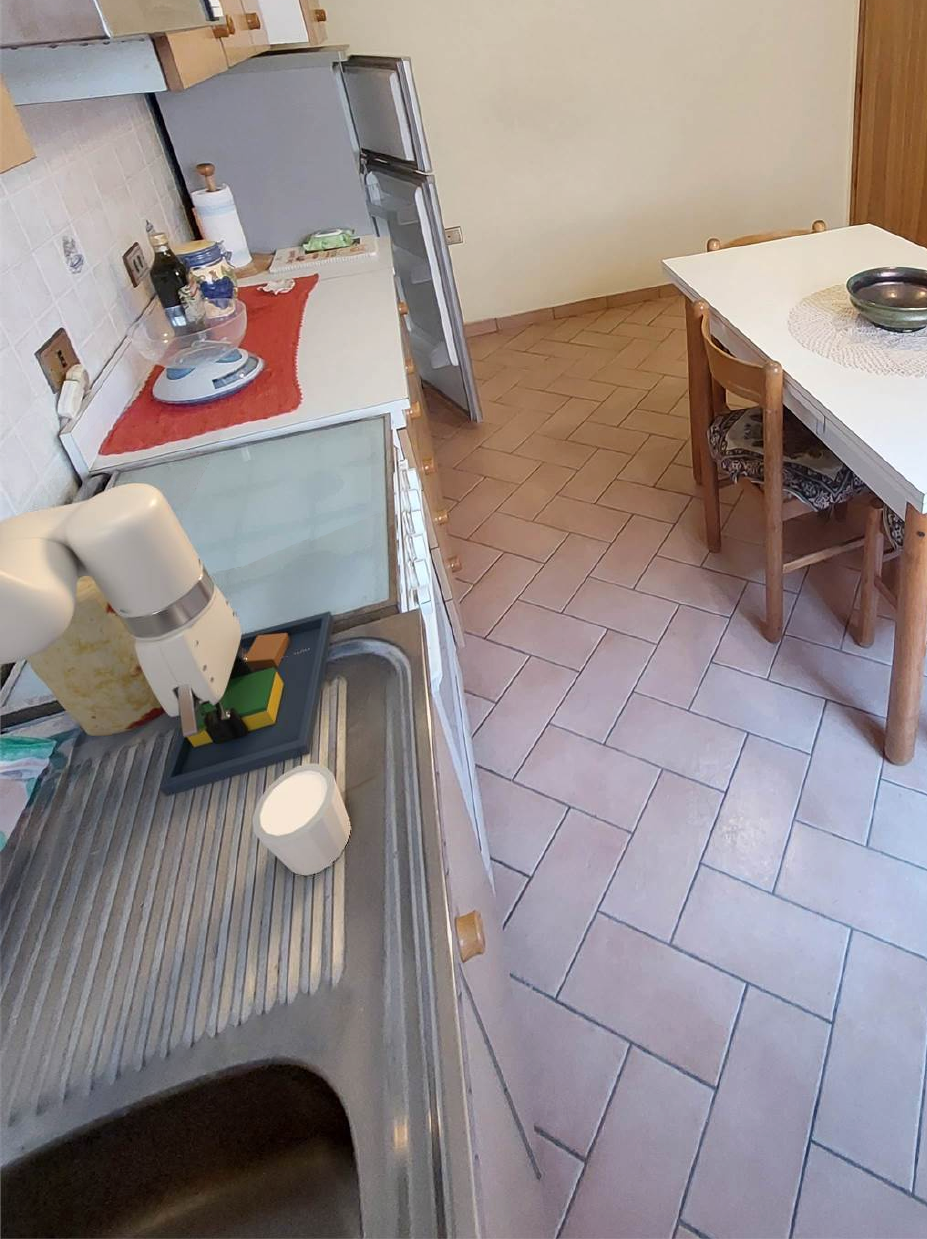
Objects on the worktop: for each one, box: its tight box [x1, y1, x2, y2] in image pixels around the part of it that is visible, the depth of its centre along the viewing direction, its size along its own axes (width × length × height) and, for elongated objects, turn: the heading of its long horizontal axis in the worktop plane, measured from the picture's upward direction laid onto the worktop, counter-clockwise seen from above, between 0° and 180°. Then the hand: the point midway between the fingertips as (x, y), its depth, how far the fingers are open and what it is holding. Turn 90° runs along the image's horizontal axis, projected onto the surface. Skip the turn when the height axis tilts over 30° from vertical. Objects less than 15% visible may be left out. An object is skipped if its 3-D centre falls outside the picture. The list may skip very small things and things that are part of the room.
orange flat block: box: [244, 633, 291, 669], centre depth 86 cm, size 4×4×2 cm
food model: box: [25, 576, 166, 737], centre depth 77 cm, size 10×7×20 cm
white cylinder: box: [251, 762, 352, 875], centre depth 66 cm, size 7×7×7 cm
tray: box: [159, 611, 335, 797], centre depth 81 cm, size 14×18×2 cm
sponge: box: [182, 667, 283, 747], centre depth 79 cm, size 8×5×3 cm, turn 105°
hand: (238, 712), depth 79 cm, fingers closed on sponge, 5 cm apart
